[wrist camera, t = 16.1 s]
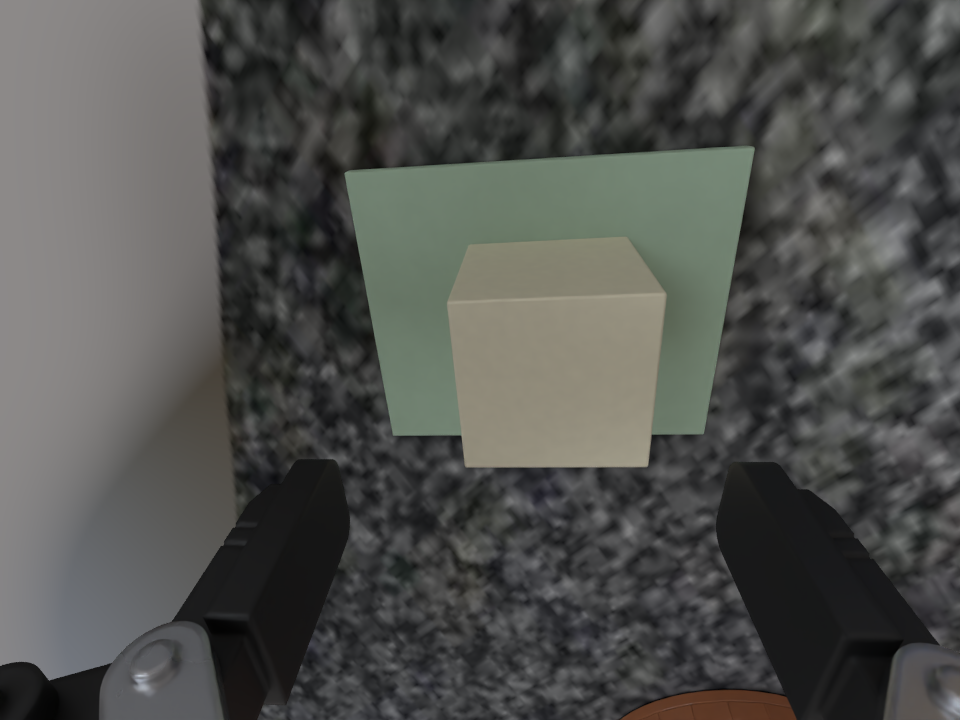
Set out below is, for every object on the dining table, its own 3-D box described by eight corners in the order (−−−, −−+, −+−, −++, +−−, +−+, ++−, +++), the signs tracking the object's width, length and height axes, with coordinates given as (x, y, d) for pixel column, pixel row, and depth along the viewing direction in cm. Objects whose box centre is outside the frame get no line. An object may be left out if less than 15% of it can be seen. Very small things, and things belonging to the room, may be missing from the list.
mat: (395, 428, 20) (392, 435, 20) (348, 170, 16) (343, 172, 15) (700, 427, 19) (704, 434, 19) (749, 145, 14) (756, 147, 14)
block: (479, 378, 18) (464, 468, 14) (468, 243, 16) (446, 301, 12) (618, 375, 18) (648, 468, 13) (627, 235, 15) (668, 293, 11)
